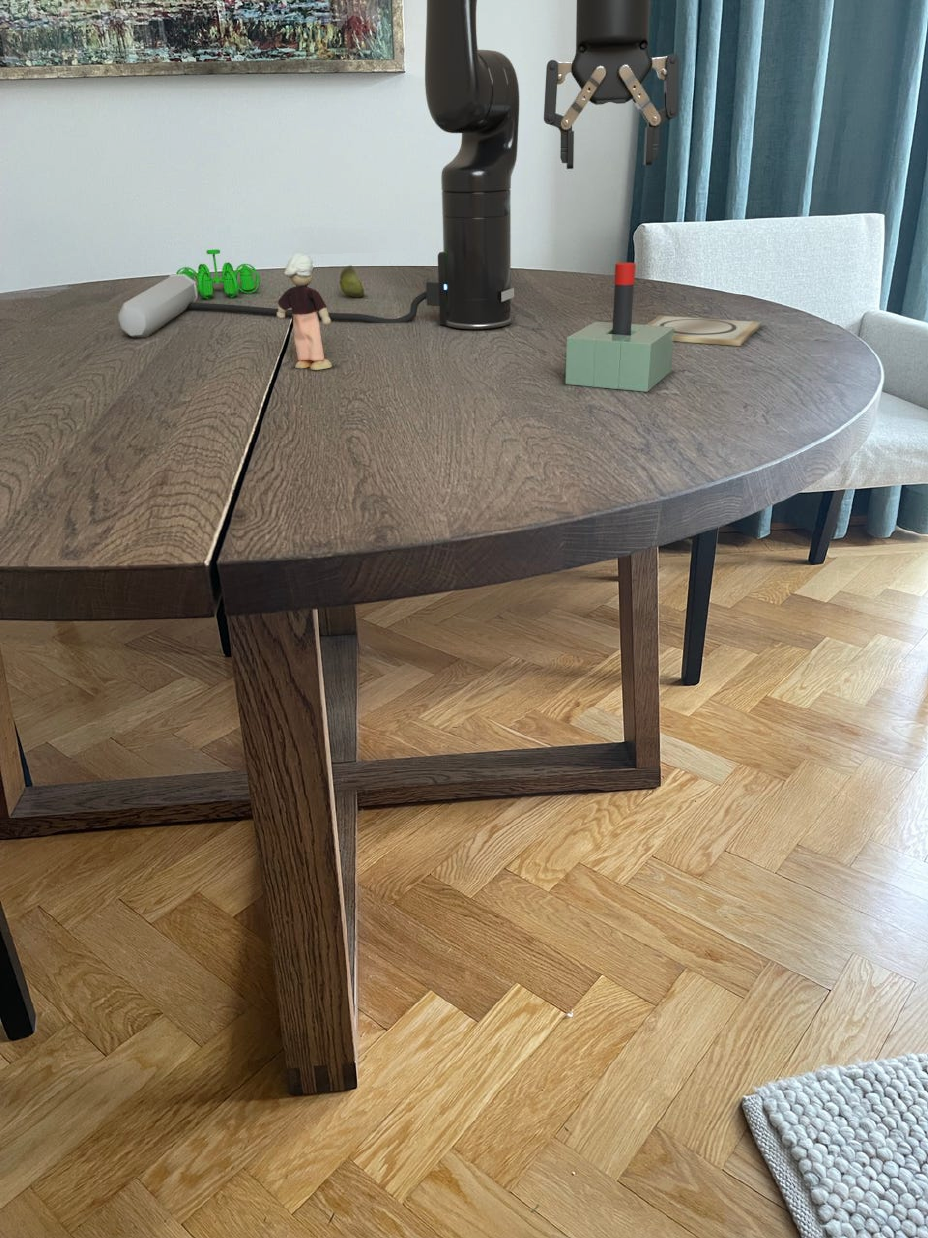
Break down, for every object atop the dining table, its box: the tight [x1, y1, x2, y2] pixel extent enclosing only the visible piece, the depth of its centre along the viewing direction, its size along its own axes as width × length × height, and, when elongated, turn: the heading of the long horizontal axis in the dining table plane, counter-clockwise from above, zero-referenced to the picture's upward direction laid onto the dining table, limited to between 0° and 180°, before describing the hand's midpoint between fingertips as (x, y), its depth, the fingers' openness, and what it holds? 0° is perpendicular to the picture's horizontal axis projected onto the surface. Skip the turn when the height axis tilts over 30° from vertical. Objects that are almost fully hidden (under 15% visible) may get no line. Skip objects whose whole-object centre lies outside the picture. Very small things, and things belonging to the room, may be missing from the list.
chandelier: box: [175, 249, 261, 300], centre depth 159 cm, size 15×15×7 cm
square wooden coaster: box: [645, 315, 762, 347], centre depth 123 cm, size 14×13×1 cm
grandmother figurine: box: [276, 253, 333, 371], centre depth 108 cm, size 8×4×13 cm, turn 71°
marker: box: [612, 261, 636, 336], centre depth 100 cm, size 2×2×12 cm
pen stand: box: [565, 321, 674, 393], centre depth 102 cm, size 9×9×5 cm
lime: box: [339, 265, 365, 298], centre depth 152 cm, size 4×5×5 cm
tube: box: [117, 273, 199, 339], centre depth 137 cm, size 5×5×25 cm
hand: (608, 166), depth 103 cm, fingers open, 8 cm apart
